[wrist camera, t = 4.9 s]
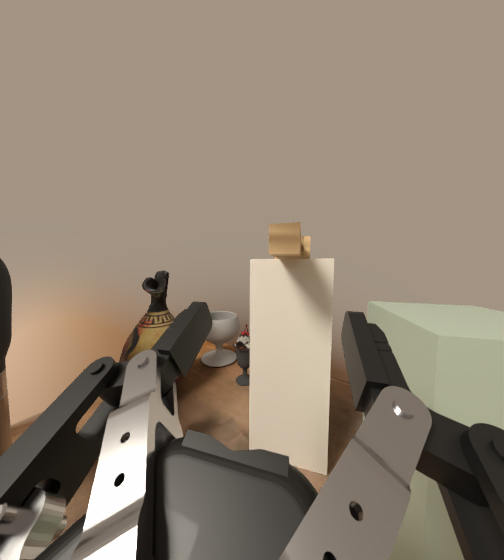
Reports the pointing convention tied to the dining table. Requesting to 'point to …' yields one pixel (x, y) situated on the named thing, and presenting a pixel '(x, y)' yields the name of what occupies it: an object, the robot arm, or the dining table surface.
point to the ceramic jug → (150, 319)
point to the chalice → (221, 338)
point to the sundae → (243, 357)
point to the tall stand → (291, 358)
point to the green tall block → (443, 397)
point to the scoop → (288, 241)
